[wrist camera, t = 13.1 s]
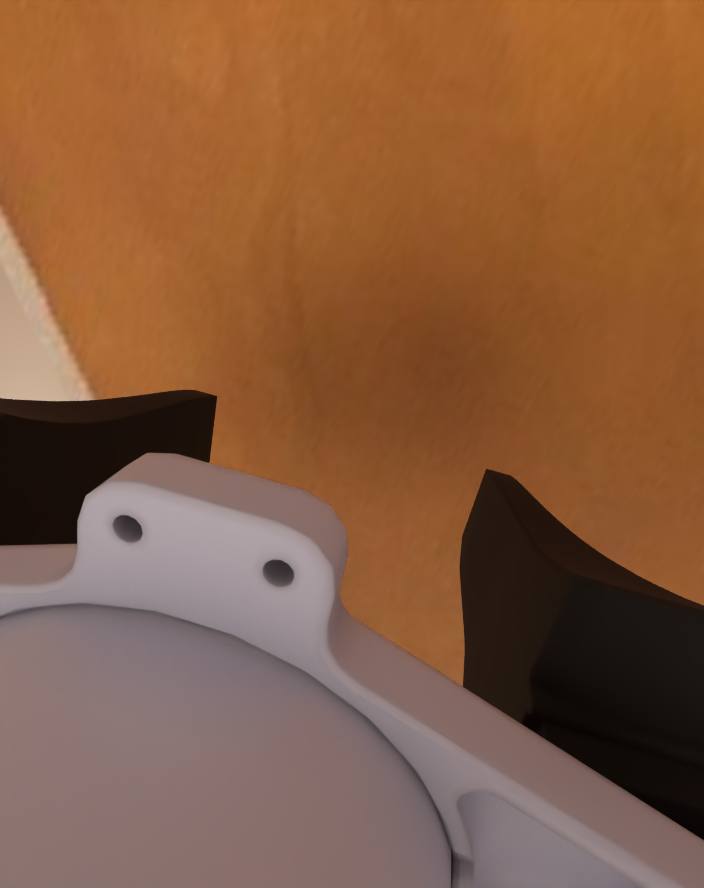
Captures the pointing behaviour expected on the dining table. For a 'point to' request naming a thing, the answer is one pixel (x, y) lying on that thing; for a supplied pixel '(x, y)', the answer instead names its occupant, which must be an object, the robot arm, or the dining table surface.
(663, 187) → the dining table surface
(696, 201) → the dining table surface
